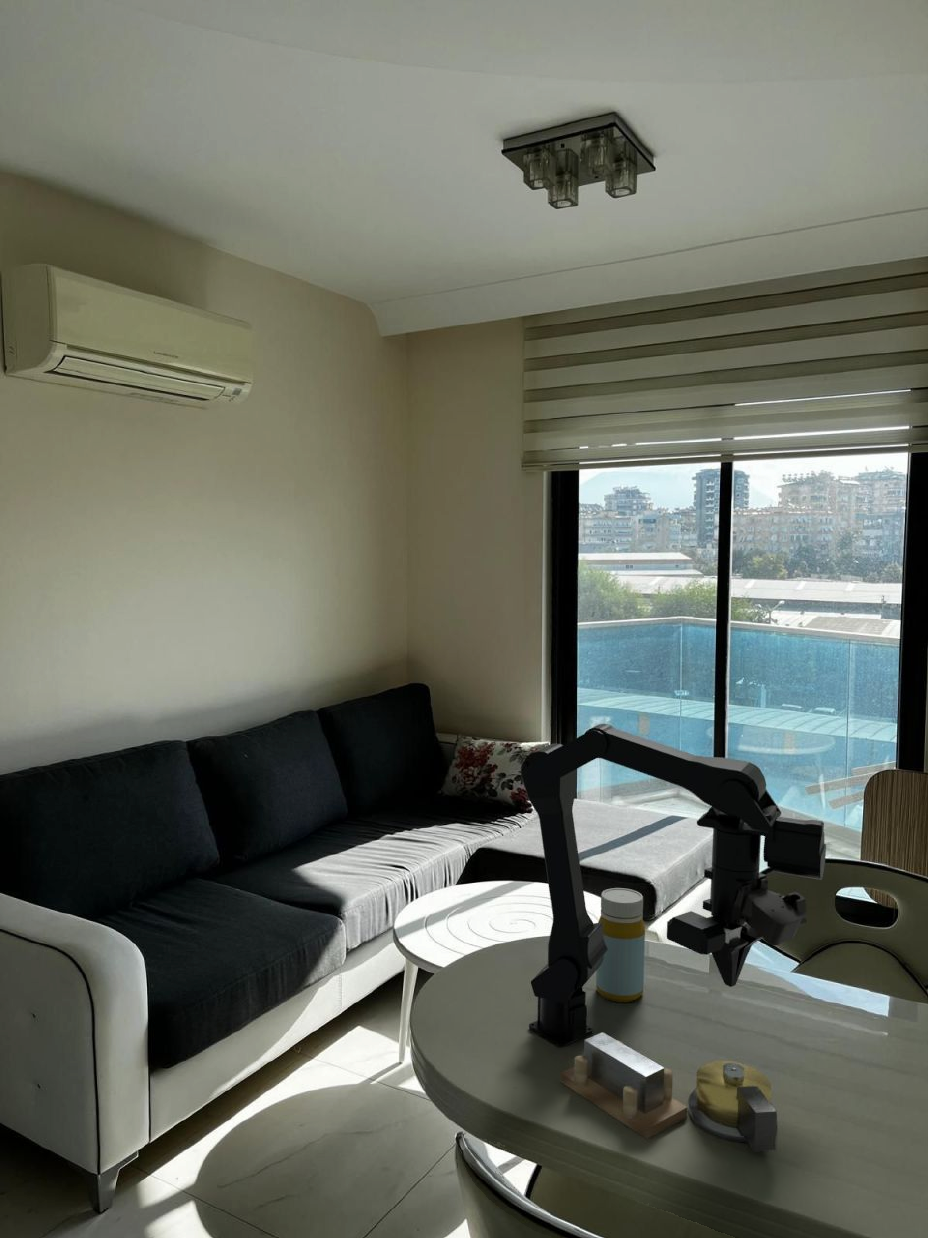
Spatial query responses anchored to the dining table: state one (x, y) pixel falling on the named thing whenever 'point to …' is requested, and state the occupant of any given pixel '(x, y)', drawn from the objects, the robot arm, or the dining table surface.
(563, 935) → the robot arm
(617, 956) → the bottle
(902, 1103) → the dining table surface
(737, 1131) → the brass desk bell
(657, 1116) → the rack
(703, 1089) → the brass disc with block
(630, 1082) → the long grey slab
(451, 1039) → the dining table surface
